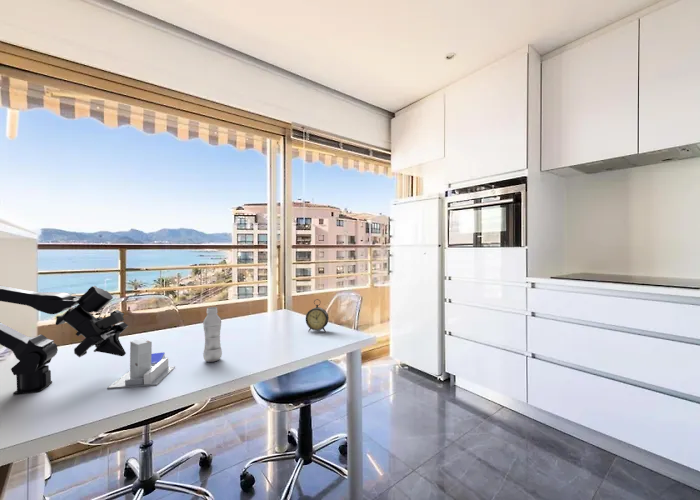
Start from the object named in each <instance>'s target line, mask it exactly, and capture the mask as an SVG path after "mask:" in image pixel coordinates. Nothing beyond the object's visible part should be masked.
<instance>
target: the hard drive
mask: <svg viewBox="0 0 700 500" xmlns="http://www.w3.org/2000/svg"><path fill="white" fill-rule="evenodd" d="M165 355H166V354H165V352H163V351H162V352H156V353H154V352H153V353H151V366H155V365H156V364H157V363H158V362H159V361H161V360H162V359H165Z"/></svg>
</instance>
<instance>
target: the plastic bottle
mask: <svg viewBox="0 0 700 500" xmlns="http://www.w3.org/2000/svg"><path fill="white" fill-rule="evenodd" d="M202 325H203V331H204V348H203V353H202V354H203V359H204V361H205V362H209V363H212V362H216V361H219V360H221V358H222V356H223V351H222V350H223V349H222V347H221V345H222V343H221V329H222V319H221V317H220V316H219V315H218V307H216V306H212V307H211V306H210V307H207V308H206V316H205V318H204V319H203V322H202Z"/></svg>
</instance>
